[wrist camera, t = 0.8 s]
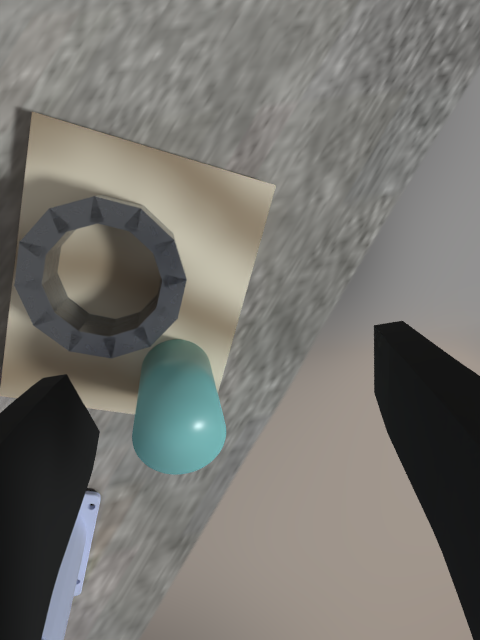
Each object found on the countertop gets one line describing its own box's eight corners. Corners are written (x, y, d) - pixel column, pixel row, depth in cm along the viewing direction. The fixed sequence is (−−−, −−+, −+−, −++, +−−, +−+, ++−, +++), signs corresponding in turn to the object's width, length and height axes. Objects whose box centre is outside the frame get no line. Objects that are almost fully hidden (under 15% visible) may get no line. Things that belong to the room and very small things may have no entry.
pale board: (207, 416, 28) (208, 424, 27) (5, 387, 25) (-1, 395, 24) (271, 185, 24) (276, 185, 23) (38, 114, 20) (31, 111, 20)
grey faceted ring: (166, 347, 25) (166, 367, 22) (26, 322, 23) (7, 341, 20) (196, 219, 23) (200, 224, 20) (45, 179, 21) (26, 177, 18)
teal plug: (202, 406, 26) (213, 478, 20) (135, 396, 25) (124, 469, 19) (218, 346, 25) (236, 402, 19) (149, 333, 24) (142, 387, 18)
